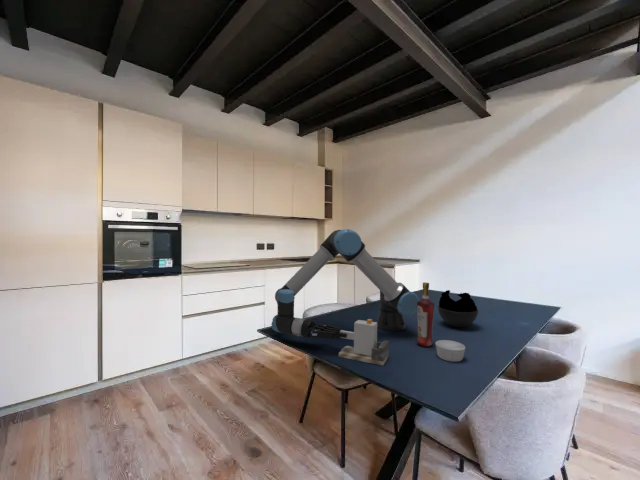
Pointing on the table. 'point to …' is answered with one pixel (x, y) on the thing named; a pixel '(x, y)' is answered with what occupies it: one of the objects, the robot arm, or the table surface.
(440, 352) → the ramekin
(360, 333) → the module
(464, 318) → the coal bowl
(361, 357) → the rail board
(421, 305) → the liquor
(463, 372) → the table surface
